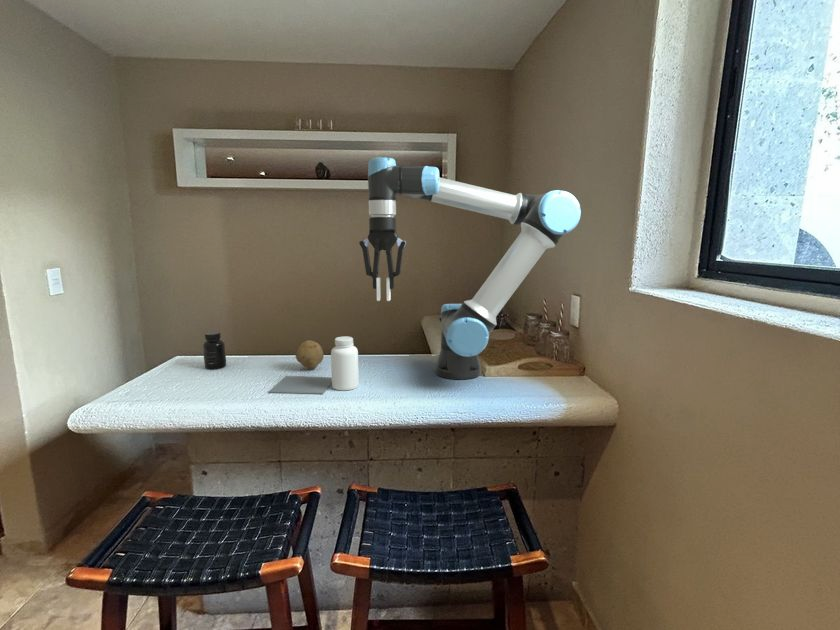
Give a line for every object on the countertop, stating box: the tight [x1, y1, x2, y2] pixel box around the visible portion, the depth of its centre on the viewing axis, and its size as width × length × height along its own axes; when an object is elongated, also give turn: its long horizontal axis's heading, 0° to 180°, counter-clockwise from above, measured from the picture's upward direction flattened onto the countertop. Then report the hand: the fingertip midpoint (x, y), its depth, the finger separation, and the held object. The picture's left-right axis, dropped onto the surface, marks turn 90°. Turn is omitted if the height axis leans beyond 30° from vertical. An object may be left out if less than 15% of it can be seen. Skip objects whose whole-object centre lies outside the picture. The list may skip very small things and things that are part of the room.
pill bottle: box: [330, 335, 360, 391], centre depth 134 cm, size 8×8×15 cm
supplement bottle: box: [202, 331, 227, 371], centre depth 153 cm, size 7×7×12 cm
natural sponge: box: [295, 339, 325, 370], centre depth 151 cm, size 9×9×10 cm
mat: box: [267, 375, 332, 395], centre depth 136 cm, size 16×14×1 cm
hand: (383, 300), depth 130 cm, fingers open, 2 cm apart
